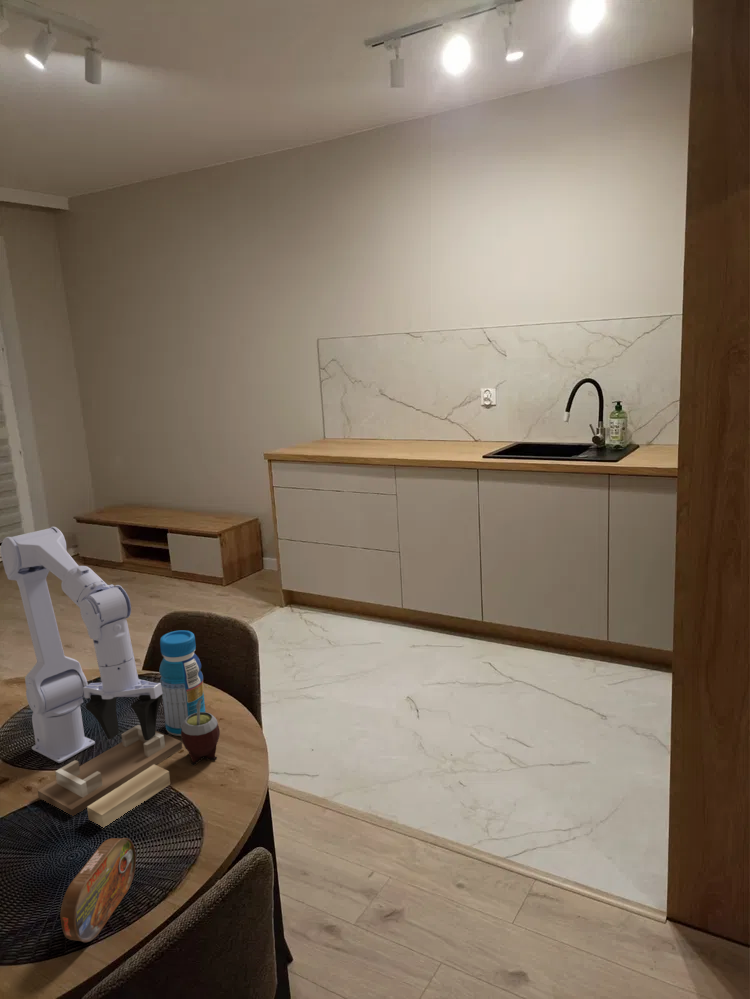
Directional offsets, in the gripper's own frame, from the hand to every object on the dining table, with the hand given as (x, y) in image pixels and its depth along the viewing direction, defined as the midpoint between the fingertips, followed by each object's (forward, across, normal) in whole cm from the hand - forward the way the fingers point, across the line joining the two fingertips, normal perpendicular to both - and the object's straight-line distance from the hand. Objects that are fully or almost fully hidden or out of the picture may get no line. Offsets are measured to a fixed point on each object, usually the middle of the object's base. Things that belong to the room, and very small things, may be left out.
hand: (131, 736), depth 123 cm
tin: (+16, +8, -21) cm, 27 cm away
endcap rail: (+11, -12, +7) cm, 18 cm away
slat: (+13, -4, +1) cm, 13 cm away
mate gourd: (+12, +2, +16) cm, 20 cm away
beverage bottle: (+11, -8, +24) cm, 28 cm away
